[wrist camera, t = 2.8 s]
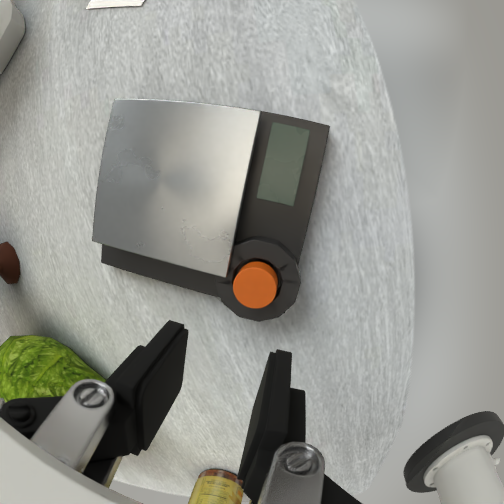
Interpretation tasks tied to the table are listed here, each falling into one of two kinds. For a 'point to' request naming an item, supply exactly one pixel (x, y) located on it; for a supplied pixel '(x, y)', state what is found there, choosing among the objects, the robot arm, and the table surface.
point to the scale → (252, 232)
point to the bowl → (9, 31)
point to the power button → (255, 285)
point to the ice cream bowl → (9, 264)
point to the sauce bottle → (217, 488)
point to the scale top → (187, 178)
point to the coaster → (113, 3)
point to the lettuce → (39, 368)
